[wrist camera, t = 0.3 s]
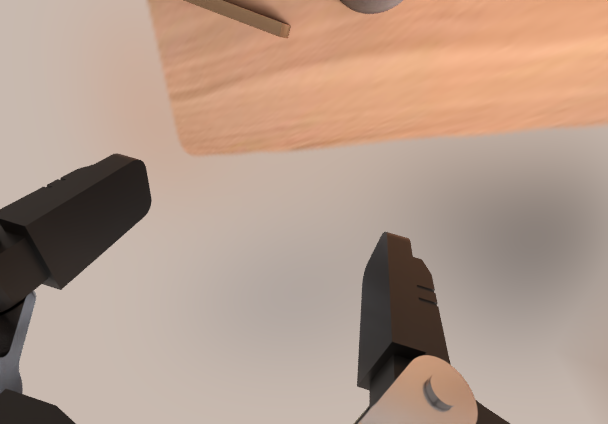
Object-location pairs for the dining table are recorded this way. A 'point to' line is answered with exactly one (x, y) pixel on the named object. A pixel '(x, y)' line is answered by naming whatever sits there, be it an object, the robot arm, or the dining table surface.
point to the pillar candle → (371, 5)
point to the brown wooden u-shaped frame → (244, 16)
